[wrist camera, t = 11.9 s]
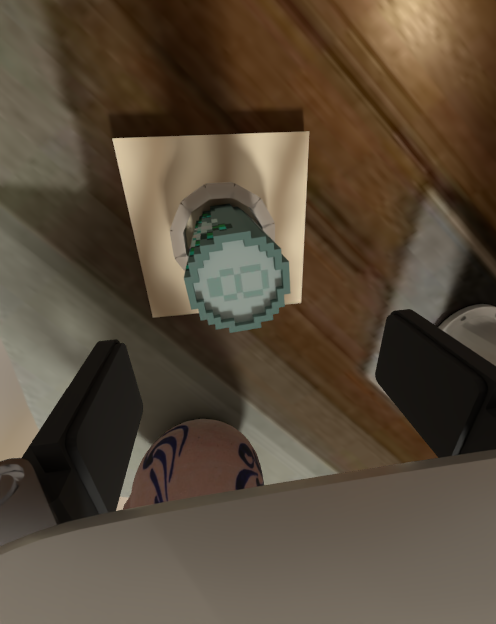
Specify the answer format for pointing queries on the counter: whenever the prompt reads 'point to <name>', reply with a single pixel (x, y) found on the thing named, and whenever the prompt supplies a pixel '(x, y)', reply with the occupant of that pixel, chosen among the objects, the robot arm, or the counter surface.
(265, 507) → the robot arm
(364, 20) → the counter surface
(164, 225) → the socket board
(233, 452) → the ceramic pitcher
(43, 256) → the counter surface
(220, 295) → the can
